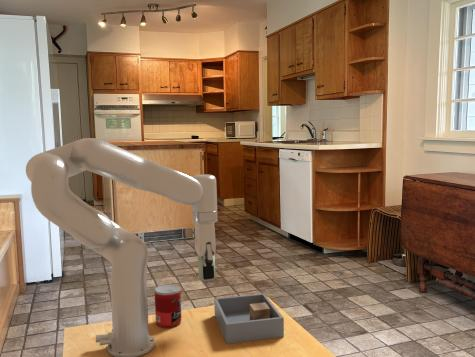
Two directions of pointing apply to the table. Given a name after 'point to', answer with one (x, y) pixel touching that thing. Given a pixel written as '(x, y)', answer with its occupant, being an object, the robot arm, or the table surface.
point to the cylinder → (200, 268)
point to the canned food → (168, 305)
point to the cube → (259, 311)
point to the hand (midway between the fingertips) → (206, 275)
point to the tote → (246, 319)
